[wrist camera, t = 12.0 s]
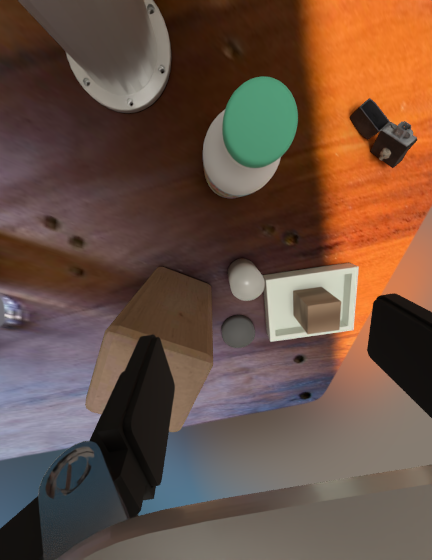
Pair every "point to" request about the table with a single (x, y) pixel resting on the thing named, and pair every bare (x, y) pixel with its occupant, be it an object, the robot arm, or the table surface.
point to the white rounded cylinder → (245, 280)
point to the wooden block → (172, 332)
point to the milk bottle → (249, 137)
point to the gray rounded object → (238, 331)
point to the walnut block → (316, 310)
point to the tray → (331, 278)
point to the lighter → (383, 133)
